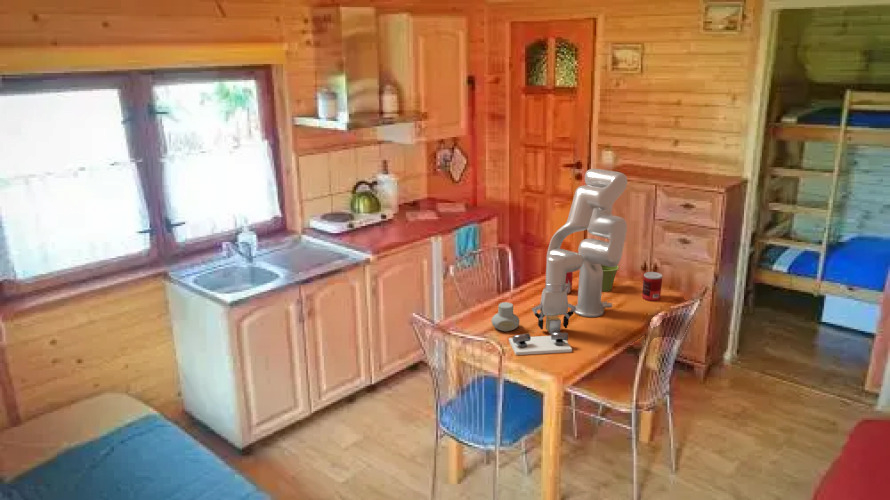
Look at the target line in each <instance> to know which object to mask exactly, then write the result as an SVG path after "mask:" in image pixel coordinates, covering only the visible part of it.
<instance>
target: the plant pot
mask: <svg viewBox="0 0 890 500" xmlns="http://www.w3.org/2000/svg"><path fill="white" fill-rule="evenodd" d="M601 267H602V270H603V280H602V292H606V293H607V292H611V291H612V289H613V286H614V282H615V278H616V275H617V272H618V270H619V268H620V267H619V264H618V265H617V266H615V267H608V266H604V265H601Z"/></svg>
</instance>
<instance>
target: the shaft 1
mask: <svg viewBox="0 0 890 500" xmlns="http://www.w3.org/2000/svg"><path fill="white" fill-rule="evenodd" d="M531 337H532V336H531V335H530V333H528V332H527V333H523V334H522V333H521V334H517V335H516V334H514V335H512V338H513V342H514V343H516V344H517V345H518V346H519V347H520V348H525V347H527V343H526V341H530V340H531Z"/></svg>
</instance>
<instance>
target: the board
mask: <svg viewBox="0 0 890 500" xmlns="http://www.w3.org/2000/svg"><path fill="white" fill-rule="evenodd" d="M530 337H531V340H530V341H526V343H527V347H525V348H520V347H519V346H518V345H517V344H516V343H514V342H513V337H509V338H508V342H509V344H510V347H511V349H512V350H513V352H514V355H515V356H524V355H527V356H528V355H543V354H559V353H563V354H564V353H572V352H573V348H572V347H571V346H570V344H569V342H568V340H563V346H556V340H551V335H541V336H538V335H537V336H530Z"/></svg>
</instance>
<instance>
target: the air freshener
mask: <svg viewBox="0 0 890 500" xmlns="http://www.w3.org/2000/svg"><path fill="white" fill-rule="evenodd" d="M497 308H498V310H497V311H498V312H497V313H496V314H494V315H493V316H492V318H491V324H492V326H493V327H494V328H495V329H497V330H499V331H502V332H509V331H512V330H515V329H517V327H519V325H520V318H519V317H518V315H516V314H515V313H514V304H513V303H511V302H507V301H505V302H504V301H503V302H500V303H499V304H498V307H497Z"/></svg>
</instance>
